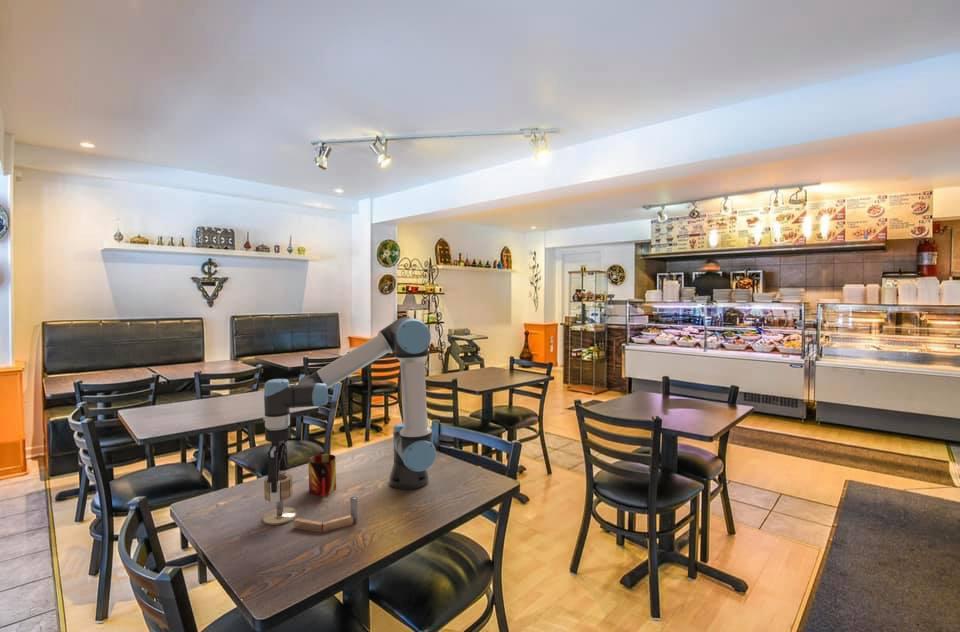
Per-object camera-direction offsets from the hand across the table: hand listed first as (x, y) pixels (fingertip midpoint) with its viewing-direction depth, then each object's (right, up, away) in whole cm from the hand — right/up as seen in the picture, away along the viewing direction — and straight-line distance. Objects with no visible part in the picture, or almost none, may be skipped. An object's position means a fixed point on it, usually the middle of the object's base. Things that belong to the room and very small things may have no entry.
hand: (278, 495), depth 155 cm
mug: (+9, -7, +21) cm, 24 cm away
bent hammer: (+17, -8, -6) cm, 20 cm away
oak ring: (0, 0, 0) cm, 0 cm away
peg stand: (0, -8, 0) cm, 8 cm away
